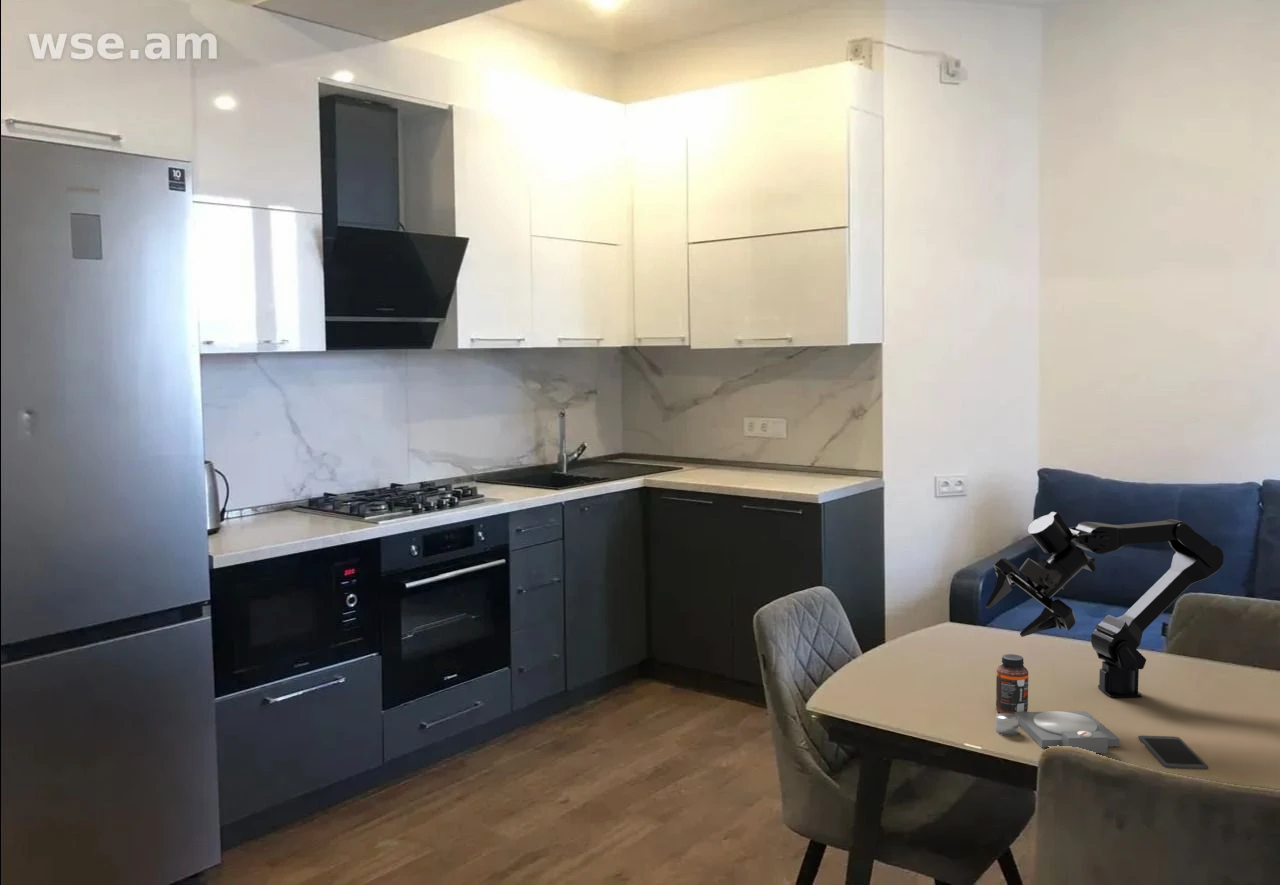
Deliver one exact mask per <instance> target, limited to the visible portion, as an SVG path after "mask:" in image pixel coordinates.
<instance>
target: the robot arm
mask: <svg viewBox="0 0 1280 885" xmlns="http://www.w3.org/2000/svg"><path fill="white" fill-rule="evenodd" d="M1027 532H1028V533H1029V534H1030V536H1031V537H1032V538H1033V540H1034V541H1035V542H1036V543H1037V545H1038V546H1039V547H1040V548H1041V550H1042V551H1043V553H1045V554H1052V555H1051V556H1050V557H1049V558H1048V559H1047V560H1045V559H1042V560H1040V561H1039V562H1037V561H1034V560H1033V559H1031V558H1029V557H1028V558H1027V559H1026V560H1025V561H1024V562H1023V564H1022V565H1021V566H1020V568H1019V569H1018V566H1016V565H1015V564H1013V563H1012V562H1011V561H1010V560H1008V559H1007V558H1006V557H1004V558H999V559H997V560H996V561H995V562H994V563H993V564H992V565H993V568H994V570H995V575H996V577H997V579H996V582H995V585H994V588H993V590H992V593H991V594H990V597H989V599H988V600H987V602H986V604H985V607H986V608H987V609H988V610H989V609H990V608H992V607H993V606H995V605H997V603H999V602H1000V601H1001V600H1002V599H1003V598H1005V597H1006V596H1007V595H1008V594H1009V593H1010V592H1012V591H1013V589H1012V587H1014V586H1015V587H1016V586H1018V587H1019V588H1020V589H1022V590H1023V591H1024V592H1026V594H1028V595H1029V596H1030V597H1032V598H1033V599H1034V600H1036V601H1037V602H1039V603H1040V604H1041V605H1042V606H1043V607H1044V608H1043V610H1042V611H1041V613H1040V614H1039V615H1038V616H1037V617H1036V618H1035V619H1034V620H1033V621H1031V622H1030V623H1028V625H1027V626H1026V627H1024V628H1023V629H1022V630H1021V632H1020V633H1019V636H1020V637H1022V638H1024V637H1026V636H1029V635H1033V634H1036V633H1039V632H1043V631H1047V630H1050V629H1058V630H1062V628H1063V629H1064V630H1065V631H1068V632H1069V631H1070V630H1071V629H1073V627H1074V626H1075V625H1076V623H1077V622H1076V617H1075V613H1074V610H1073V609H1072V607H1070V606H1069V605H1068V604H1066V603H1065V602H1063V601H1062V600H1061V599H1060V598H1056V599H1054V600H1053V596H1054V595H1056V594H1057V593H1058V592H1059V591H1060V590H1061V589H1062V590H1065V589H1066V588H1068V585H1067V583H1068V582H1070V581H1071V580H1072V579H1073V578H1074V577H1076V575H1077V574H1078V573H1079V572H1080V571H1081V570H1082V569H1084V570H1087V571H1090V572H1094V573H1095V571H1096V564H1095V561H1096V558H1095V557H1092V556H1089V555H1087V554H1086V552H1085V551H1088V552H1091V553H1094V554H1097V555H1105V554H1108V553H1112V552H1115V551H1118V550H1120V549H1121V548H1122V547H1126V546H1129V545H1130V546H1131V545H1141V544H1151V543H1162V542H1168V543H1169V546H1170V547H1171V549H1172V550H1173V551H1174V552H1175V553H1174V554H1173V556H1172V560H1171V564H1170V568H1169V569H1168V570H1167V571H1166V572H1165V573H1164V574H1163V575H1162V576H1161V577H1160V578H1159V579H1158V580H1157V581H1156V582H1155V583H1154V584H1153V585H1152V586H1151V587H1149V589H1148V590H1146V592H1145V593H1144V594H1143V595H1141V597H1140V598H1139V599H1137V600H1136V602H1135V603H1134V604H1133V605H1131V607H1130V608H1129V609H1128V610H1126V611H1125V613H1123V614H1122V615H1119V616H1117V617H1115V616H1113V615H1112V614H1111V615H1110V614H1107V615H1106V616H1104V618H1103V619H1102V620H1101V622H1099V623H1098V624H1096V625H1094V626H1093V628H1094V630H1093V632H1092V633H1091V636H1090V638H1091V640H1090V643H1091V646H1092V648H1093V650H1094V651H1095V653H1096V656H1097V657H1098V659H1100V660H1102V661H1101V668H1100V669H1099V682H1098V683H1099V684H1098V685H1097V688H1098V689H1099V690H1101V691H1102V692H1103V693H1104V694H1106V695H1107V696H1108V697H1110V698H1142V697H1143V694H1142V693H1141V692H1140V691H1139V677H1140V676H1139V675H1140V673H1139V672H1140V670H1143V669H1144V668H1145V665H1146V662H1147V658H1146V657H1145V656H1144V655H1143V654H1142V653H1140V651H1139V650H1138V649H1139V647H1140V645H1141V642H1142V637H1143V633H1144V632H1145V631H1146V629H1148V628H1149V627H1150V625H1151V624H1152V623H1153V622H1154V621H1156V620H1157V618H1159V617H1160V615H1161V614H1162V613H1164V611H1165V610H1167V609H1168V608H1169V607H1170V606H1171V605H1172V604H1173V603H1174V602H1175V600H1177V599H1178V598H1179V597H1180V595H1182V594H1183V592H1185V591H1186V590H1187V589H1188V588H1189V587H1190V586H1191V585H1192V584H1195V583H1198V582H1200V581H1203V580H1206V579H1208V578H1210V577H1211V576H1212V575H1213V576H1214V574H1215V573H1217V572H1218V571H1219V570H1221V568H1222V567H1224V566H1223V565H1224V563H1225V561H1224V558H1225V557H1224V552H1223V551H1222V549H1221V548H1220V547H1219V546H1218V545H1215V544H1212V543H1211V542H1210V541H1209V540H1207V539H1206V538H1205V537H1203V536H1202V535H1200V534H1199V533H1197V532H1196V531H1195V530H1193V528H1192V527H1191V526H1190V525H1188V523H1186V522H1184V521H1181V520H1176V519H1172V518H1168V519H1165V520H1158V521H1147V522H1135V523H1125V524H1109V523H1103V522H1097V521H1096V522H1094V521H1083V522H1082V521H1081V522H1080V523H1078V524H1077V526H1071V527H1070V526H1069V527H1068V524H1066V522H1064V519H1063V517H1062V516H1061V515H1060V513H1058V512H1055V511H1051V512H1050V513H1048V514H1046V515H1045V514H1044V515H1043V516H1040V517H1038V518H1037V519H1036V518H1035V519H1034V520H1033V521H1032V522H1031V523H1030V524H1029V526H1028V527H1027ZM1075 545H1076V546H1075ZM1084 550H1085V551H1084ZM1020 573H1021V574H1023V576H1024V577H1023V576H1021V574H1020ZM1025 578H1026V579H1025ZM1011 586H1012V587H1011Z"/></svg>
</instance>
